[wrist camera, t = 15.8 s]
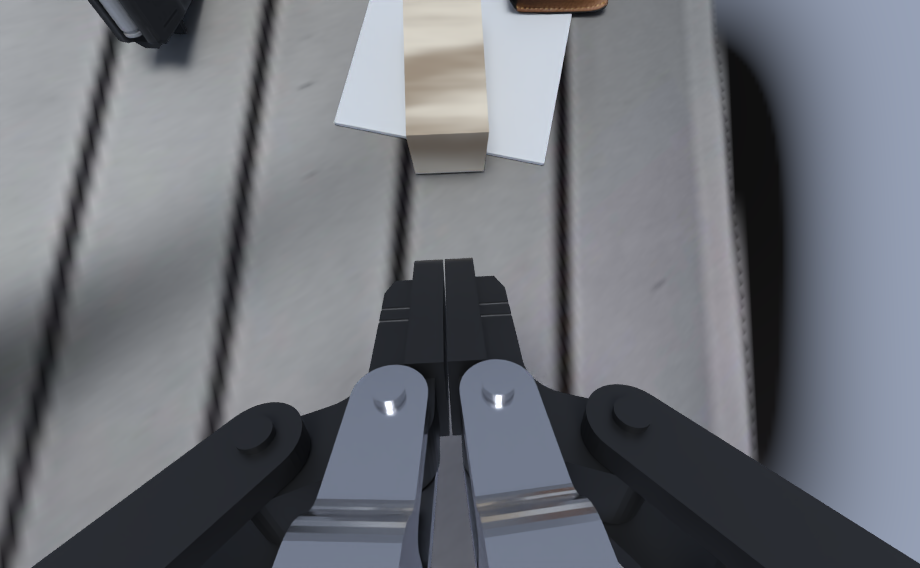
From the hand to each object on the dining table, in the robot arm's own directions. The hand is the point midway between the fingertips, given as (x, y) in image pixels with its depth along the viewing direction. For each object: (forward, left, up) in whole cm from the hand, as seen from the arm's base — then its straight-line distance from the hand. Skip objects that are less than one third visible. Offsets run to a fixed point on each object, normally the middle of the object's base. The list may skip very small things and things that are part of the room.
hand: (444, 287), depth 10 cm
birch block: (+11, +3, -13) cm, 17 cm away
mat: (+20, +4, -16) cm, 26 cm away
